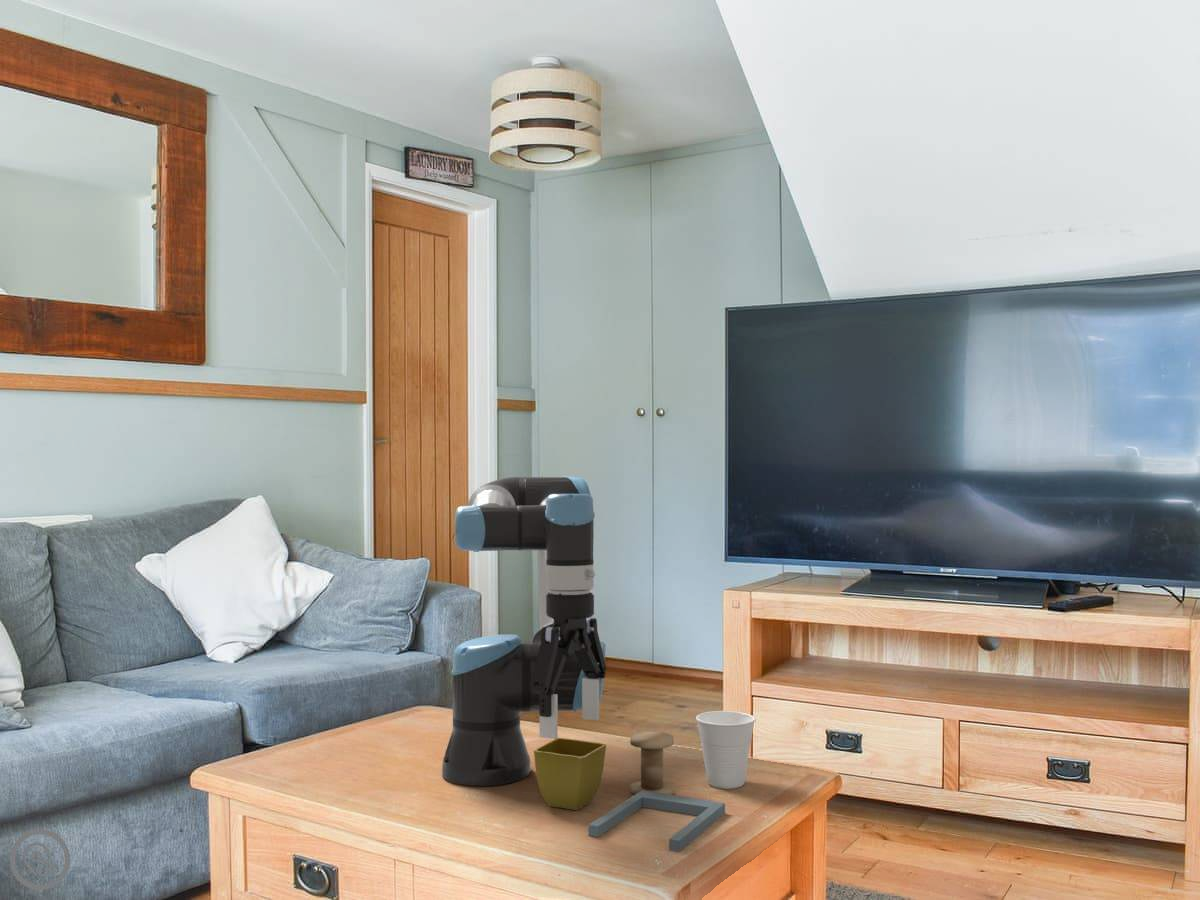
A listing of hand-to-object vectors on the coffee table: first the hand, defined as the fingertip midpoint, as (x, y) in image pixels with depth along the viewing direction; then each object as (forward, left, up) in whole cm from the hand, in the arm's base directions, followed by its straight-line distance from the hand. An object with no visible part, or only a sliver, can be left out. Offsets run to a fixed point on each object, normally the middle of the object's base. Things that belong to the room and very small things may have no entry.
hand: (570, 728), depth 158 cm
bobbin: (+9, +11, -12) cm, 19 cm away
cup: (+18, +21, -12) cm, 30 cm away
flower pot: (0, 0, -12) cm, 12 cm away
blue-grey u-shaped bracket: (+16, -2, -12) cm, 20 cm away
